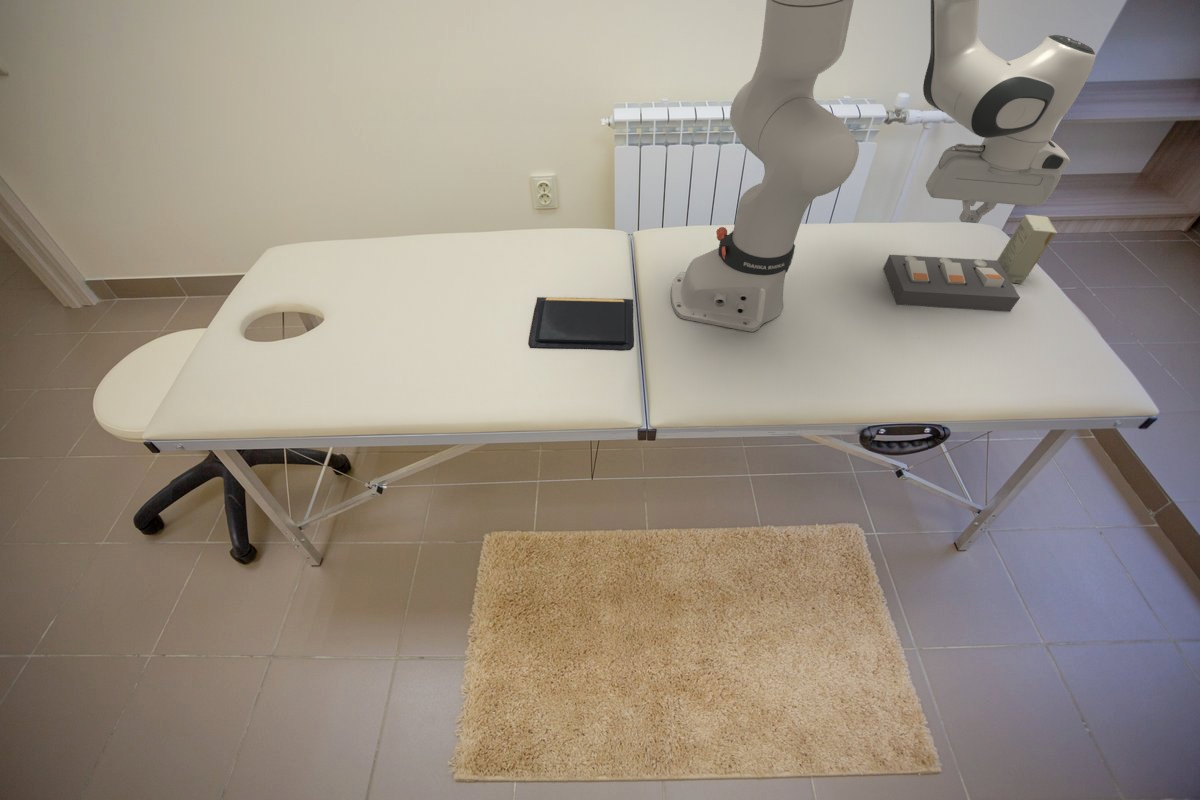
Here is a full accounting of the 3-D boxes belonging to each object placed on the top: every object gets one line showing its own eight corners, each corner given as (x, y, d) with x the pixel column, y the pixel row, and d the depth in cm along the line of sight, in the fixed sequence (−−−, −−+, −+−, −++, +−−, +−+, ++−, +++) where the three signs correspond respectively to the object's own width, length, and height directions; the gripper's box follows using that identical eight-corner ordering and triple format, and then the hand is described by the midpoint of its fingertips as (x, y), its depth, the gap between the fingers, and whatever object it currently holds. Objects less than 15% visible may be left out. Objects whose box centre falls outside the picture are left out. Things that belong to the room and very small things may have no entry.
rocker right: (983, 286, 113) (987, 277, 112) (972, 275, 117) (976, 266, 116) (1000, 287, 113) (1004, 278, 112) (988, 276, 117) (992, 267, 116)
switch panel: (896, 304, 114) (904, 290, 111) (883, 268, 122) (889, 254, 119) (1010, 311, 113) (1020, 297, 110) (988, 274, 121) (998, 260, 118)
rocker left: (908, 285, 115) (913, 279, 113) (904, 266, 117) (908, 259, 116) (925, 286, 115) (929, 280, 113) (920, 266, 117) (925, 260, 115)
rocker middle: (944, 287, 114) (949, 281, 113) (939, 267, 117) (944, 261, 115) (960, 288, 114) (966, 282, 113) (955, 268, 117) (960, 262, 115)
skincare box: (1022, 284, 118) (1058, 233, 109) (1000, 282, 119) (1034, 231, 110) (1014, 266, 123) (1048, 215, 113) (992, 263, 123) (1025, 213, 114)
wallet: (525, 342, 105) (536, 290, 115) (526, 350, 106) (537, 298, 116) (633, 347, 104) (635, 294, 114) (633, 355, 106) (635, 302, 116)
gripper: (954, 151, 94) (916, 225, 105) (1080, 161, 93) (1029, 235, 104) (942, 134, 98) (907, 207, 109) (1064, 144, 97) (1016, 216, 108)
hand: (967, 220), depth 106 cm, fingers closed
